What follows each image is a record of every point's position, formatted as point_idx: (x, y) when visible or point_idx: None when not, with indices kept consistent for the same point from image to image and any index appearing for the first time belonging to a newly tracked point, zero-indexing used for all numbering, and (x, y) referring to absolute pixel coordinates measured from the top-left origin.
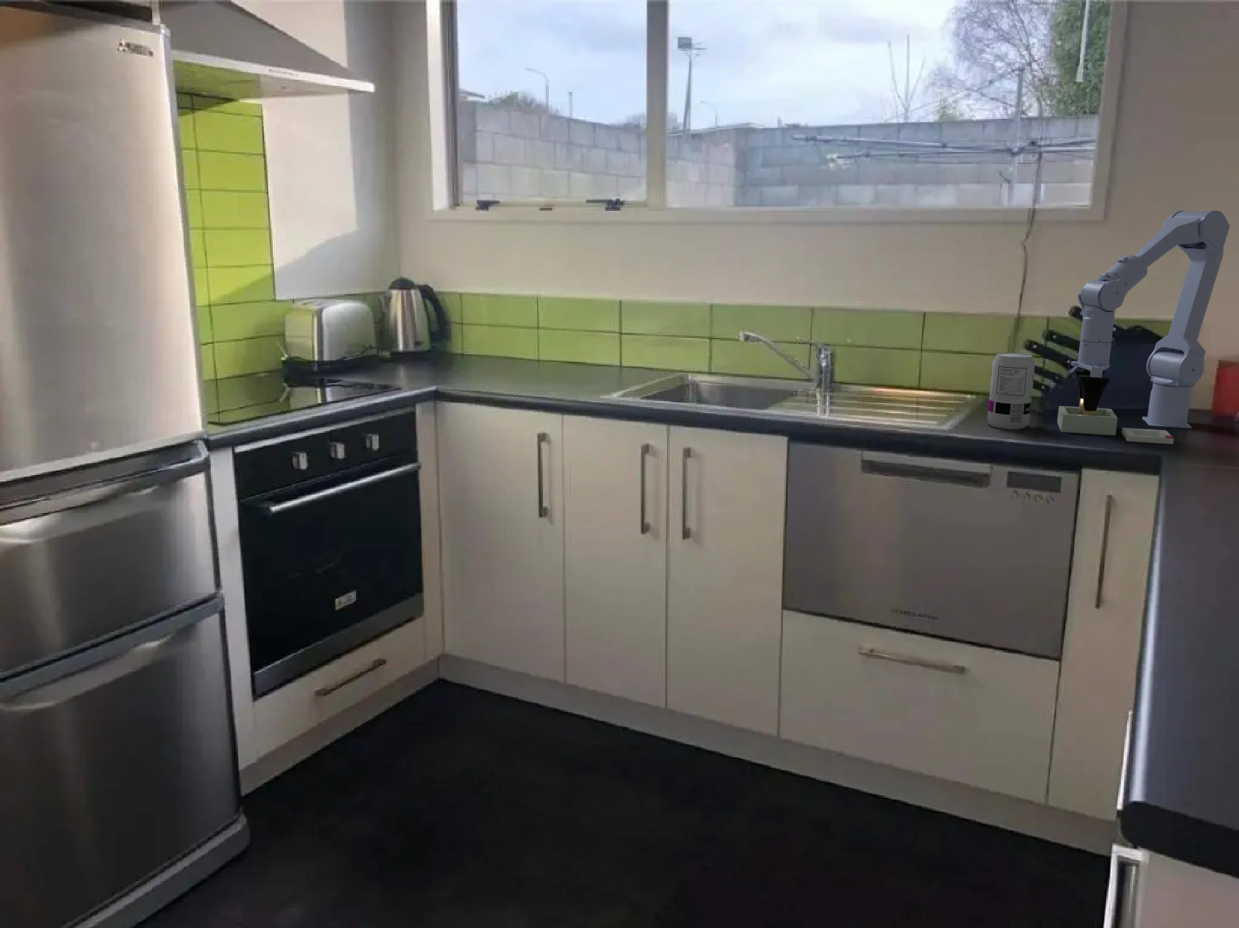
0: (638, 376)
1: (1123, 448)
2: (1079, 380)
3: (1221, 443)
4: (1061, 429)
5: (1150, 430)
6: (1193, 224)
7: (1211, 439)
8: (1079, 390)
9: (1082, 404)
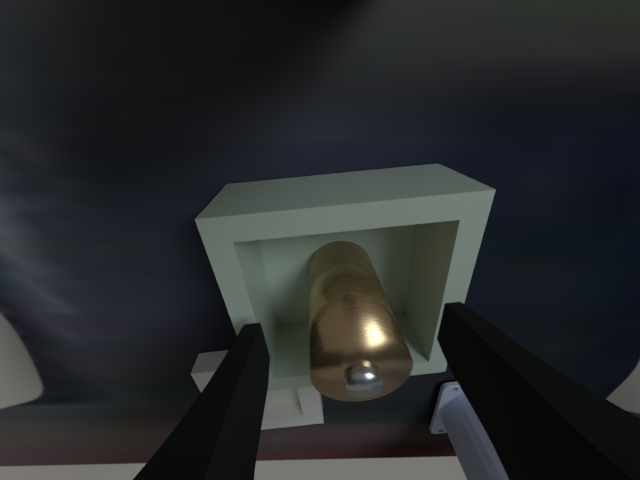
0: None
1: (118, 348)
2: (592, 454)
3: (312, 453)
4: (221, 190)
5: (307, 404)
6: None
7: (345, 445)
8: (508, 361)
9: (322, 327)
